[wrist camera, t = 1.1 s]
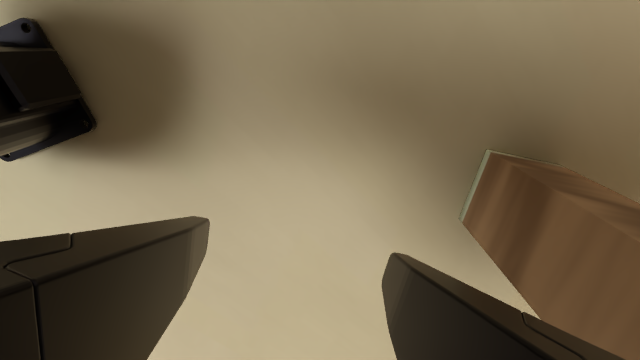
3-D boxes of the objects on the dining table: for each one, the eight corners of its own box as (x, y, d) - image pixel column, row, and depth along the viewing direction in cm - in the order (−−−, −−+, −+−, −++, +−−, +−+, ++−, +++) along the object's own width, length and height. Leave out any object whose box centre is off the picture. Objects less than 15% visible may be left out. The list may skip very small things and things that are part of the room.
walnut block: (458, 218, 24) (634, 433, 10) (486, 149, 22) (740, 303, 9) (527, 232, 24) (779, 455, 11) (559, 165, 22) (907, 334, 9)
